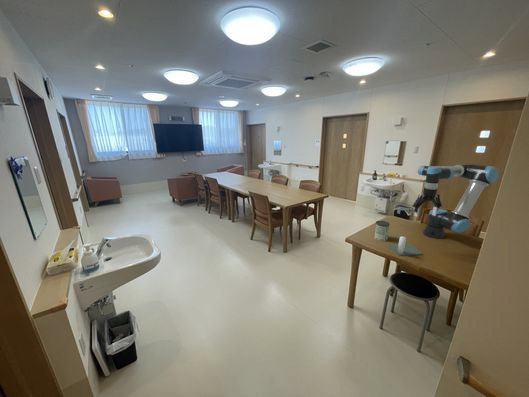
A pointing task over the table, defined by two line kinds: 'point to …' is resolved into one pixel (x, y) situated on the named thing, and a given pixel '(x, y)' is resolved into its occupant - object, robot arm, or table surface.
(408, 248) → the slate board
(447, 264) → the table surface
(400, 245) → the chalk stick
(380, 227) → the coffee can
